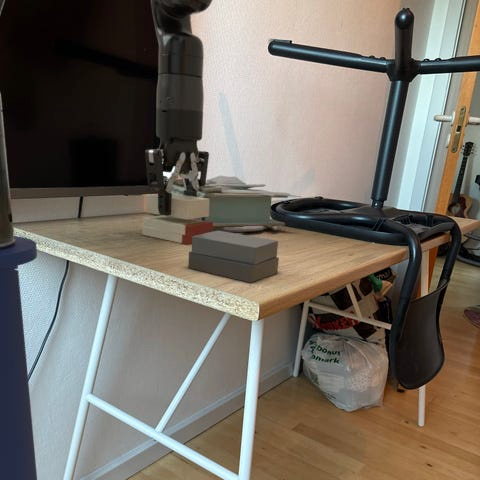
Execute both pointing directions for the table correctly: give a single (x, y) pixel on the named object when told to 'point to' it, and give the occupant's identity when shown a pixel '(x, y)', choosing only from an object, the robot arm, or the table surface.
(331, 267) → the table surface
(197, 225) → the white stack
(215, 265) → the grey stack
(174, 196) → the white book
